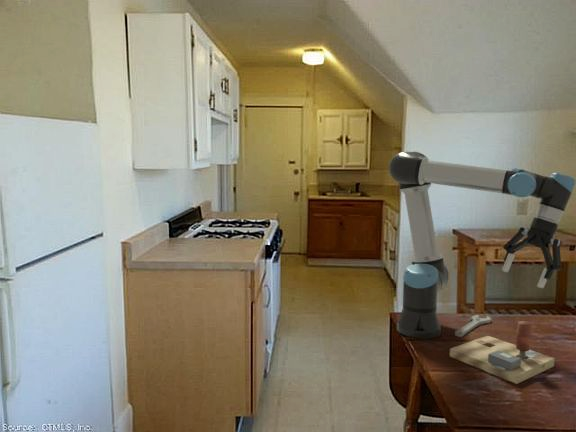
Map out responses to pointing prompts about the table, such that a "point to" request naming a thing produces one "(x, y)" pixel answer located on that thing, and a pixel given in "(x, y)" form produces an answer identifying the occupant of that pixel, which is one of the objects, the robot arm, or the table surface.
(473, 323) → the adjustable wrench
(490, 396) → the table surface
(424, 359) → the table surface
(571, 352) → the table surface
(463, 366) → the table surface
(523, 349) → the awl
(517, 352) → the board
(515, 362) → the block
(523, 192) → the robot arm
